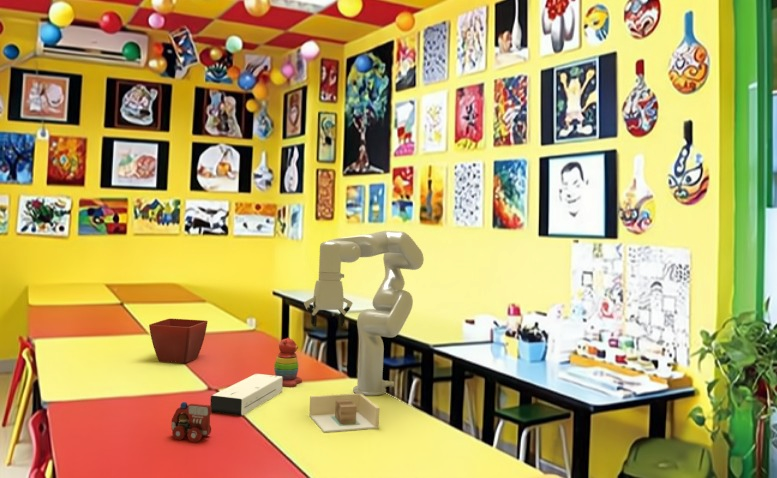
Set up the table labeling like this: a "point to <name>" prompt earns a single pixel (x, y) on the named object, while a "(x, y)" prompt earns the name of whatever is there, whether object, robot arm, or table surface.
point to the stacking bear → (287, 363)
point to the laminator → (246, 394)
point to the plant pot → (178, 339)
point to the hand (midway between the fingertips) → (327, 325)
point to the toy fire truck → (191, 421)
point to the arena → (325, 412)
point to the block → (345, 411)
